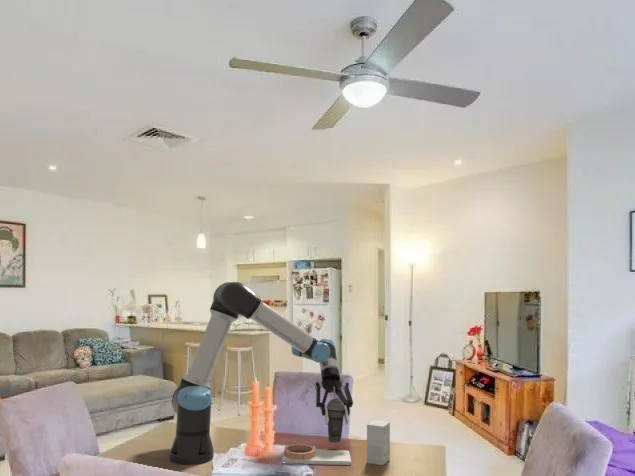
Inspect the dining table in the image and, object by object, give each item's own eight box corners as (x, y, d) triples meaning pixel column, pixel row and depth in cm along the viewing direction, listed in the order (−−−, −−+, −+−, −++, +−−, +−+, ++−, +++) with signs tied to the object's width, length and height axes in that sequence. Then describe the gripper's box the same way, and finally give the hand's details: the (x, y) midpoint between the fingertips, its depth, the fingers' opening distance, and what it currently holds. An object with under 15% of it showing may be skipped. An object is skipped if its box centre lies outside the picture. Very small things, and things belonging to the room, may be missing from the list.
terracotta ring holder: (283, 459, 168) (283, 453, 168) (285, 449, 179) (285, 443, 179) (315, 460, 168) (315, 454, 168) (315, 450, 179) (315, 444, 179)
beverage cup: (337, 444, 180) (338, 389, 183) (321, 440, 185) (323, 386, 187) (347, 440, 186) (349, 387, 189) (332, 437, 191) (334, 384, 193)
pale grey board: (281, 463, 167) (281, 459, 167) (283, 452, 179) (283, 449, 179) (351, 465, 167) (351, 461, 167) (348, 454, 179) (348, 450, 179)
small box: (373, 456, 177) (373, 419, 179) (390, 459, 175) (390, 421, 176) (366, 462, 170) (366, 424, 172) (383, 465, 167) (383, 426, 169)
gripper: (351, 377, 205) (360, 427, 187) (304, 377, 201) (309, 428, 184) (355, 366, 201) (365, 416, 183) (307, 366, 197) (312, 417, 179)
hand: (337, 422), depth 183 cm, fingers closed on beverage cup, 7 cm apart
